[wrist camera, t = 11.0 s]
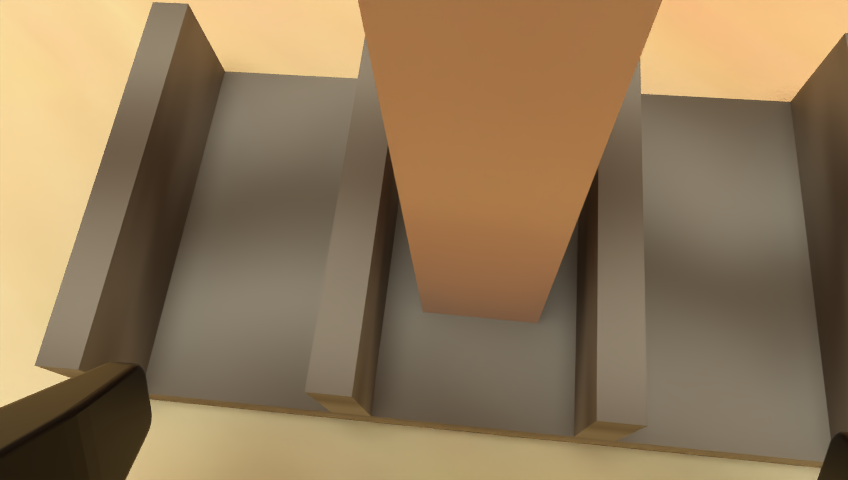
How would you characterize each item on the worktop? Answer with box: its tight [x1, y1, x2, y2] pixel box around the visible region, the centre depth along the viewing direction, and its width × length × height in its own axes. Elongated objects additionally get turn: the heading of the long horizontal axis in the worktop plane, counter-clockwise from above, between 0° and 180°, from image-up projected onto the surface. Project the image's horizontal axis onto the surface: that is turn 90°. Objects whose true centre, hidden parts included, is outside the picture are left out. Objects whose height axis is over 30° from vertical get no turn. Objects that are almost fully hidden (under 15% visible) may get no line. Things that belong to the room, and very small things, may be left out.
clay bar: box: [358, 0, 662, 323], centre depth 12 cm, size 4×3×13 cm, turn 173°
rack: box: [35, 2, 848, 468], centre depth 17 cm, size 10×20×4 cm, turn 84°
